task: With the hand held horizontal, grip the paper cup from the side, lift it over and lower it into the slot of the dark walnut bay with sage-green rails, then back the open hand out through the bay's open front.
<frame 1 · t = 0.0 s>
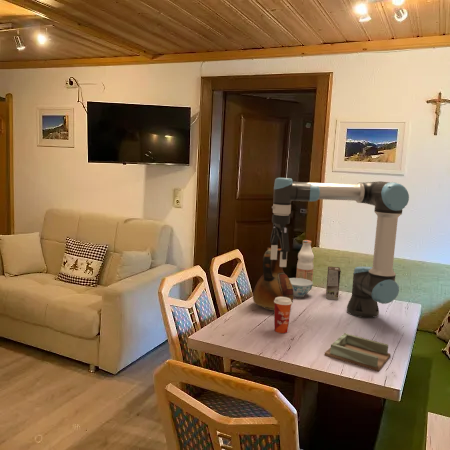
hand: (278, 263, 188), 28 cm above the table, tool pointing down, fingers open, 13 cm apart
bay: (357, 355, 165), on the table
paper cup: (281, 331, 186), on the table
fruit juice: (303, 288, 252), on the table
chinaware: (297, 295, 238), on the table
ceramic pitcher: (272, 308, 215), on the table
coffee box: (331, 297, 238), on the table
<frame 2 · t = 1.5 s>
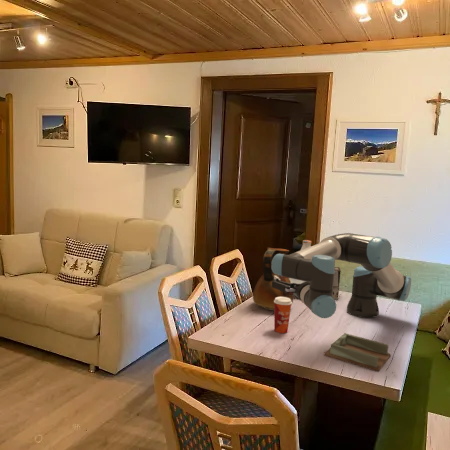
hand: (291, 279, 174), 25 cm above the table, tool horizontal, fingers open, 13 cm apart
nothing on the table moved.
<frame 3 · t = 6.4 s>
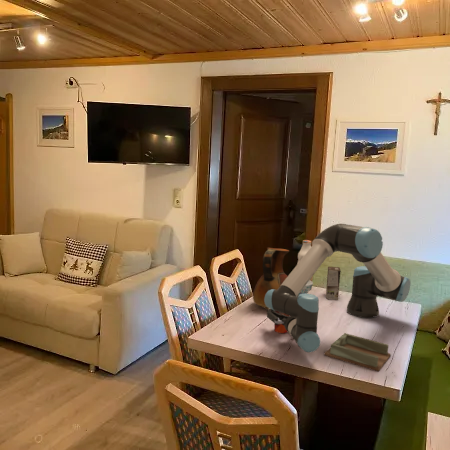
hand: (279, 307, 189), 9 cm above the table, tool horizontal, fingers closed on paper cup, 8 cm apart
paper cup: (281, 331, 186), on the table, touching gripper
everything else where it was.
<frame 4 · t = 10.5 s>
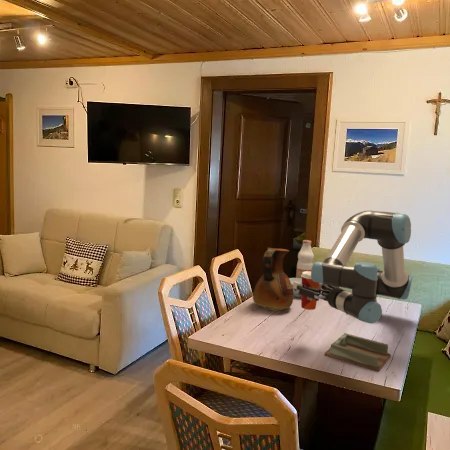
hand: (302, 283, 176), 23 cm above the table, tool horizontal, fingers closed on paper cup, 8 cm apart
paper cup: (308, 307, 173), point 14 cm above the table, touching gripper
everything else where it was.
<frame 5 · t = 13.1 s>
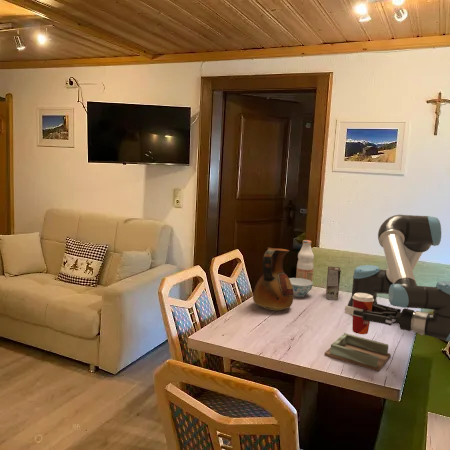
hand: (349, 306, 164), 18 cm above the table, tool horizontal, fingers closed on paper cup, 8 cm apart
paper cup: (360, 331, 163), point 10 cm above the table, touching gripper
everything else where it was.
when the fingers open (11 cm above the table, at t = 14.8 s): paper cup drops 1 cm, resting on bay.
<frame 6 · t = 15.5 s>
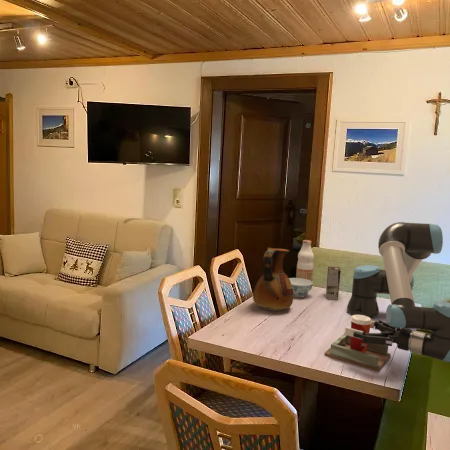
hand: (351, 325, 165), 11 cm above the table, tool horizontal, fingers open, 13 cm apart
paper cup: (357, 353, 165), point 1 cm above the table, touching bay
everything else where it was.
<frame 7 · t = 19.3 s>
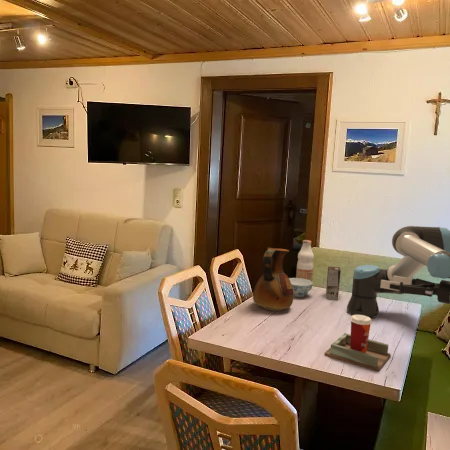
hand: (387, 281, 156), 30 cm above the table, tool horizontal, fingers open, 13 cm apart
nothing on the table moved.
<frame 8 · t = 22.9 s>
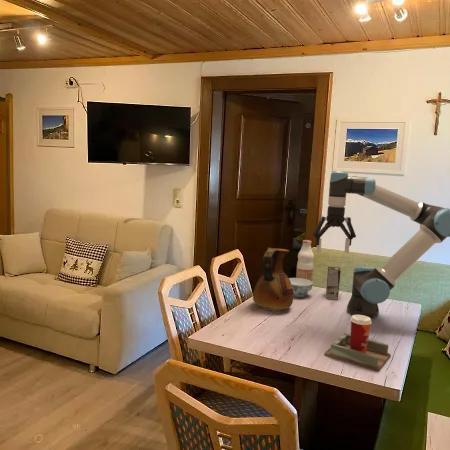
hand: (332, 252, 198), 32 cm above the table, tool pointing down, fingers open, 13 cm apart
nothing on the table moved.
at the end: paper cup inside the target area on the bay (0.1 cm from its centre), point 0.8 cm above the bay's base; paper cup tilted 0°; the gripper is holding nothing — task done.
